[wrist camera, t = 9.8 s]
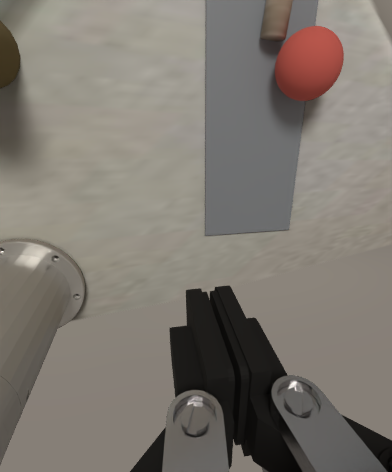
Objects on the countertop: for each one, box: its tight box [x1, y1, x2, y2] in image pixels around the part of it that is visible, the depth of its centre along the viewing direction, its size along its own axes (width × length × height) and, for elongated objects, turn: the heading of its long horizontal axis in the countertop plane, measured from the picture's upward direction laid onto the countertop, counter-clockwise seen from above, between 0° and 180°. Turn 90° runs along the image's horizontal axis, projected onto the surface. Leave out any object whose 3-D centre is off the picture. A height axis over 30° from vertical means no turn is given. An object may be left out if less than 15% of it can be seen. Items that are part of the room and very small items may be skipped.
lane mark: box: [205, 0, 318, 236], centre depth 31 cm, size 24×11×1 cm, turn 1°
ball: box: [275, 26, 343, 101], centre depth 27 cm, size 6×6×6 cm
